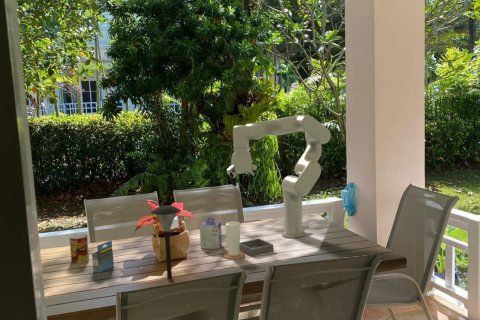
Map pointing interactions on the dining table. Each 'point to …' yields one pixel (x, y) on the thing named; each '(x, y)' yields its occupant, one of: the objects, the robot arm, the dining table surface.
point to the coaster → (234, 256)
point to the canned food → (79, 248)
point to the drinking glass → (233, 238)
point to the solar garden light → (166, 229)
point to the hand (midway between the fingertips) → (242, 184)
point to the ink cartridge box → (210, 234)
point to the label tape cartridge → (103, 257)
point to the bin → (264, 248)
